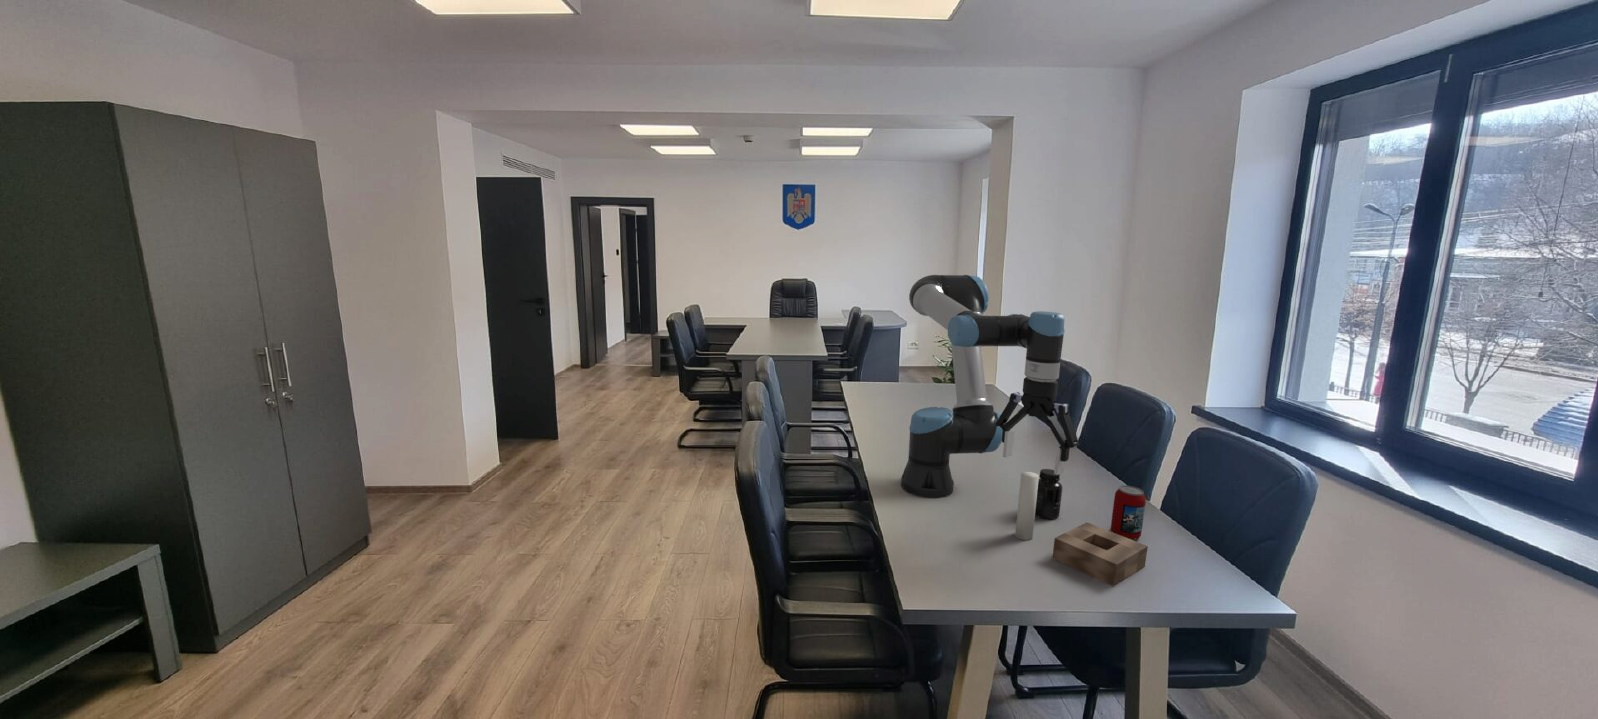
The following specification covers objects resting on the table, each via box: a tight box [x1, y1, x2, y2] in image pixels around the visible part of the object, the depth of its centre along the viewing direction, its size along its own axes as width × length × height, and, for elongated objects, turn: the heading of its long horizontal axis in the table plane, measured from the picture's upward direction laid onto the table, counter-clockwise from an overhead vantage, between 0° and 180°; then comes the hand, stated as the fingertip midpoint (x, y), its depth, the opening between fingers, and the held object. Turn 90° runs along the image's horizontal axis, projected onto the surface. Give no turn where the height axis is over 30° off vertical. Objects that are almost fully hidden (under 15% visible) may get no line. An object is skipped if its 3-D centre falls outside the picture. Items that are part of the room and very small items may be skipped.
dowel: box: [1014, 471, 1040, 541], centre depth 147 cm, size 4×4×16 cm
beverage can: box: [1110, 485, 1147, 540], centre depth 149 cm, size 7×7×12 cm
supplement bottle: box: [1035, 468, 1063, 520], centre depth 159 cm, size 7×7×12 cm
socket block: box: [1052, 522, 1149, 587], centre depth 136 cm, size 14×14×5 cm
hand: (1032, 464), depth 145 cm, fingers open, 13 cm apart
